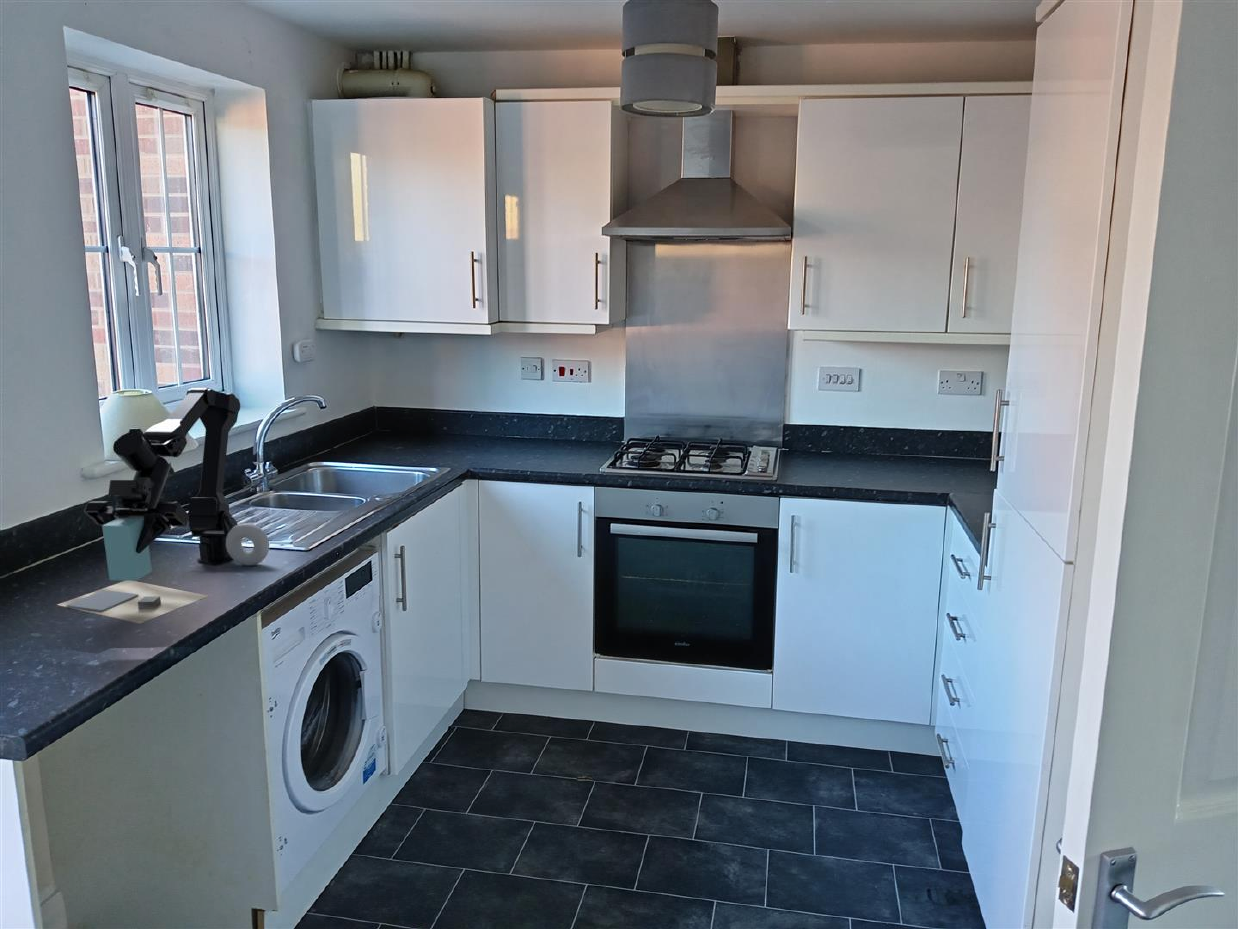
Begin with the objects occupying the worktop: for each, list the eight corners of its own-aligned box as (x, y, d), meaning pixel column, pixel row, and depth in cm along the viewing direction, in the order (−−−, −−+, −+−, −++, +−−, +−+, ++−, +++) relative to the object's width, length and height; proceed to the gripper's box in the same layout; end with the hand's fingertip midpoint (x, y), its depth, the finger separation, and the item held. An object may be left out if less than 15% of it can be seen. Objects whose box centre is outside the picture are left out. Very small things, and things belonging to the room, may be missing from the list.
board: (128, 586, 201) (127, 573, 201) (209, 602, 191) (208, 588, 191) (57, 611, 187) (55, 597, 187) (140, 631, 177) (138, 616, 176)
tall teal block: (125, 571, 187) (118, 517, 185) (151, 571, 187) (145, 518, 185) (109, 580, 182) (102, 525, 180) (136, 580, 182) (129, 525, 179)
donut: (225, 567, 213) (220, 524, 211) (232, 562, 216) (228, 520, 214) (267, 568, 212) (263, 525, 210) (274, 563, 216) (270, 521, 213)
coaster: (104, 591, 194) (103, 590, 194) (138, 596, 191) (138, 594, 191) (66, 607, 186) (66, 605, 185) (102, 612, 183) (101, 610, 183)
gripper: (82, 461, 184) (53, 532, 176) (174, 462, 183) (149, 533, 175) (112, 490, 194) (85, 558, 185) (199, 491, 192) (177, 560, 184)
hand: (123, 552), depth 182 cm, fingers closed on tall teal block, 5 cm apart
